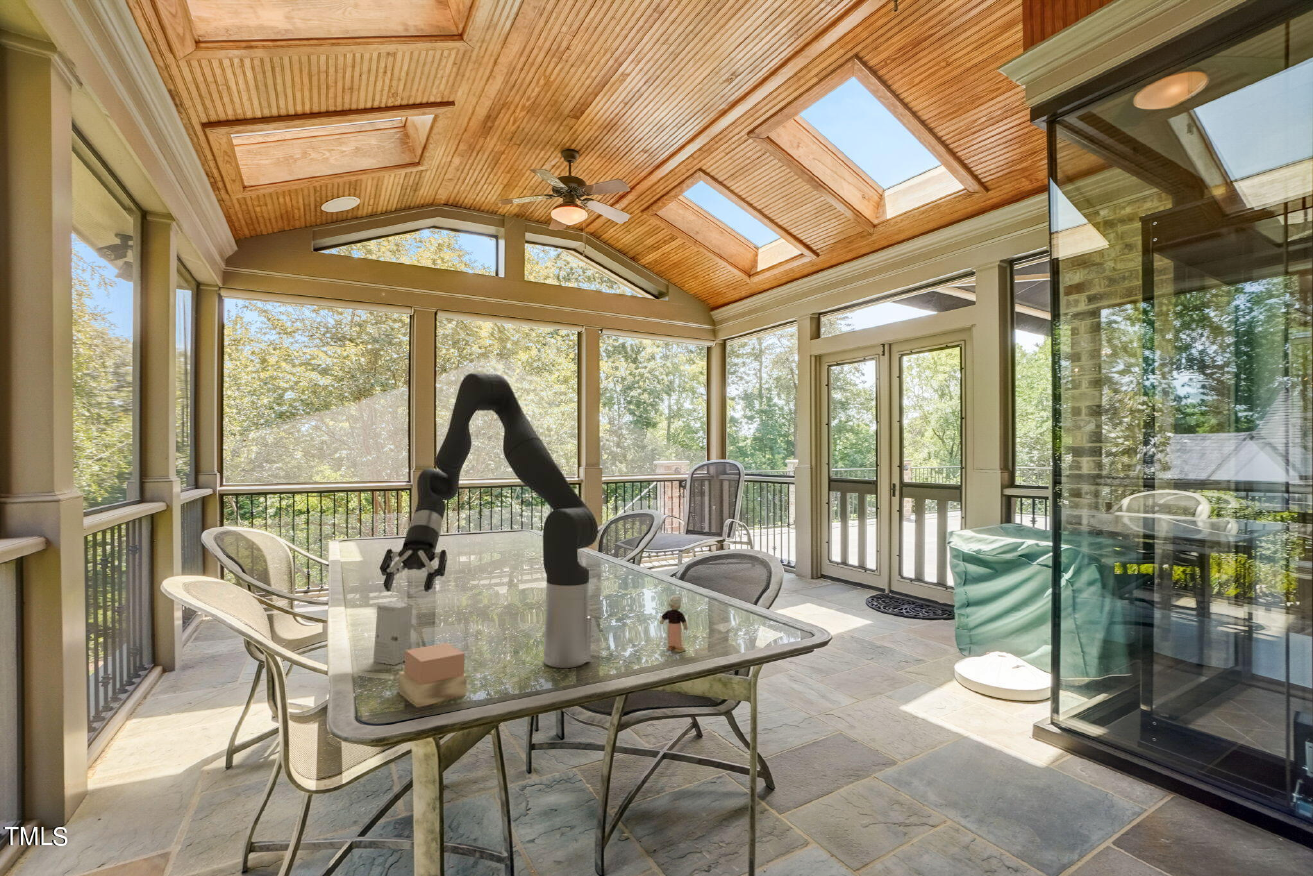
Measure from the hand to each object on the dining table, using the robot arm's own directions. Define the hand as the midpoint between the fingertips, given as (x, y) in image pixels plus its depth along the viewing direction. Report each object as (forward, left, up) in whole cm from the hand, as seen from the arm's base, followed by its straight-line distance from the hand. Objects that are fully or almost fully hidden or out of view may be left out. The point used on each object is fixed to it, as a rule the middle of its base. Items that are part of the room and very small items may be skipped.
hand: (406, 589), depth 139 cm
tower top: (+1, +30, -10) cm, 32 cm away
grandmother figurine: (-54, +29, -14) cm, 63 cm away
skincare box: (+4, +7, -14) cm, 16 cm away
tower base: (+1, +30, -14) cm, 33 cm away
